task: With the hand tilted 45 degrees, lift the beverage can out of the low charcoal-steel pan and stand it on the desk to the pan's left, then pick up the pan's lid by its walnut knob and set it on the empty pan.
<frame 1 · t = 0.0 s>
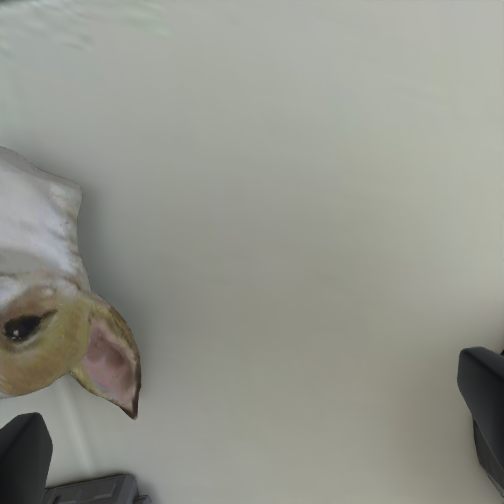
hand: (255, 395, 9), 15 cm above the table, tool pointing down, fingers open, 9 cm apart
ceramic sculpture: (46, 282, 24), on the table
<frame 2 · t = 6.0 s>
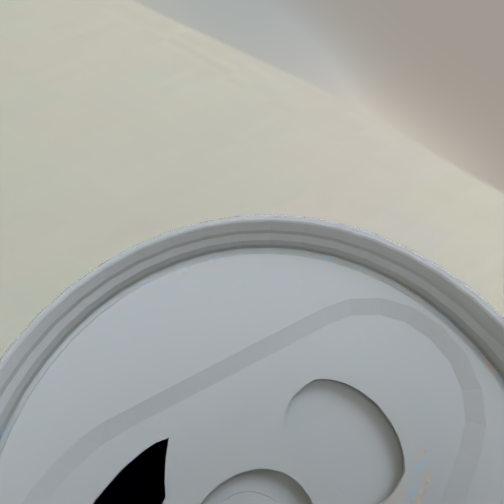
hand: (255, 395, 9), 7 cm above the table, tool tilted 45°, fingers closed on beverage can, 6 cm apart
beverage can: (263, 451, 15), resting on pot, touching gripper
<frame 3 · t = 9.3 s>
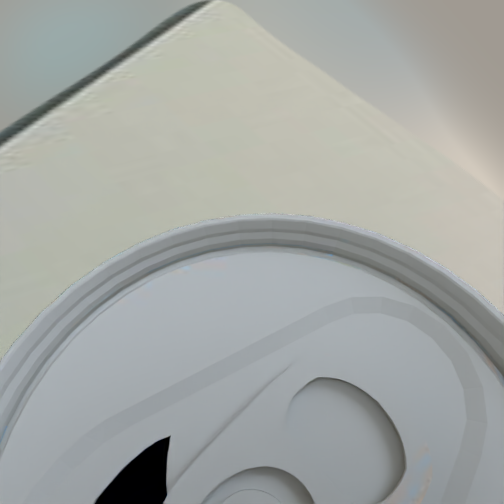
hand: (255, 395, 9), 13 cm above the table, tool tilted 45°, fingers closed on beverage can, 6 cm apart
beverage can: (263, 451, 15), point 7 cm above the table, touching gripper
when the fingers open (6 cm above the table, at t = 12.9 s): beverage can stays where it is, on the table.
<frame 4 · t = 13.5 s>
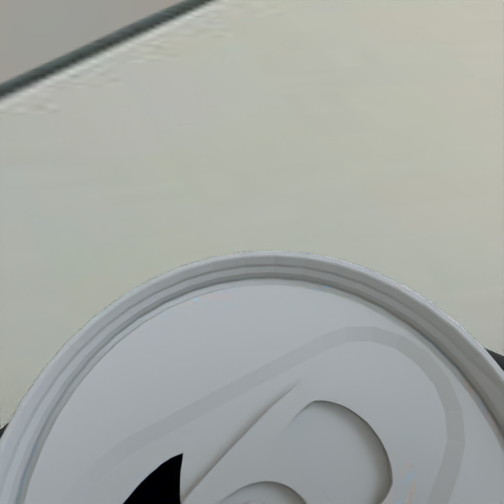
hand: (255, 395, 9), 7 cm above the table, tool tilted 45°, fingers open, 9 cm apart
beverage can: (264, 455, 15), on the table
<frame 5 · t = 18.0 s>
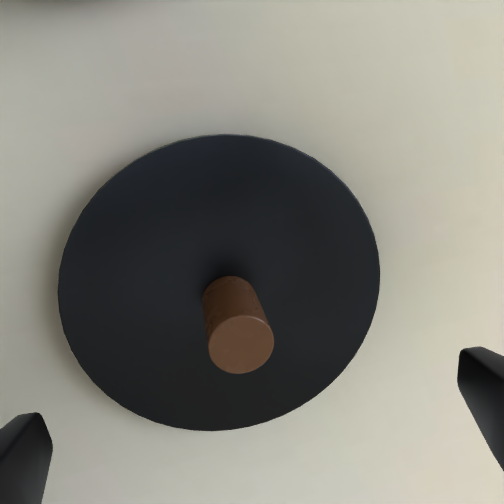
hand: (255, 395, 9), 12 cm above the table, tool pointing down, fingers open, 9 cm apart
lid: (227, 296, 21), point 1 cm above the table
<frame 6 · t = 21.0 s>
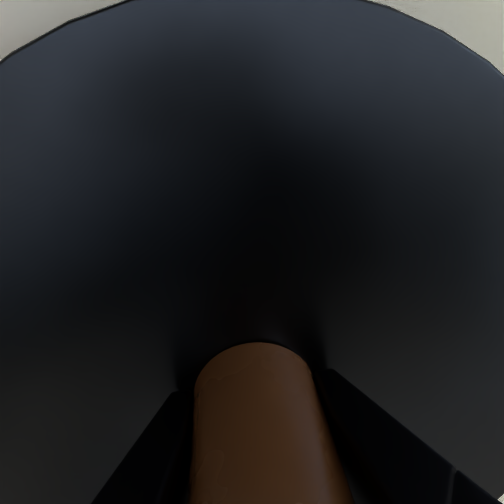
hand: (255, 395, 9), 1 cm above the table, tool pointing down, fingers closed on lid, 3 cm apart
lid: (252, 376, 10), point 1 cm above the table, touching gripper
when the fingers open (6 cm above the table, at t = 25.8 s): lid stays where it is, resting on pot.
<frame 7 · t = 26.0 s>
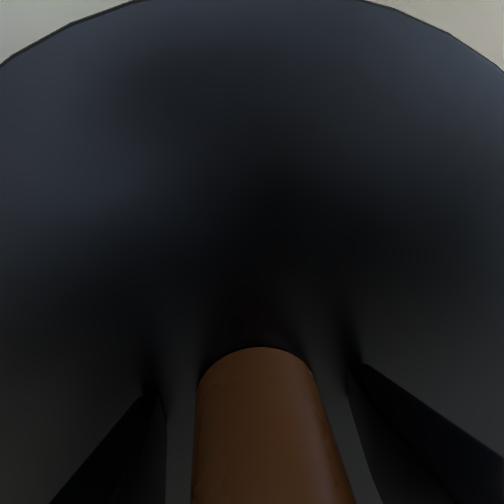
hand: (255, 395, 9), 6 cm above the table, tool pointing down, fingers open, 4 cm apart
lid: (254, 381, 10), point 5 cm above the table, touching gripper, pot
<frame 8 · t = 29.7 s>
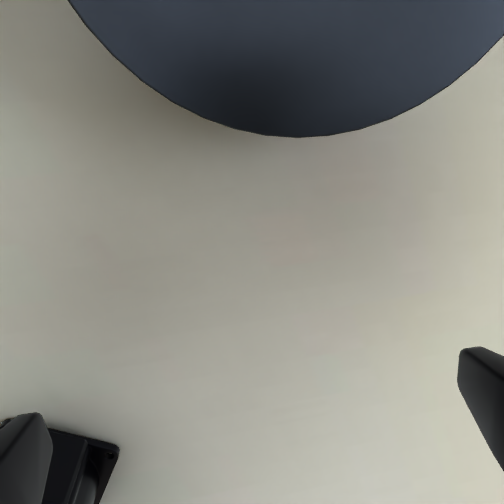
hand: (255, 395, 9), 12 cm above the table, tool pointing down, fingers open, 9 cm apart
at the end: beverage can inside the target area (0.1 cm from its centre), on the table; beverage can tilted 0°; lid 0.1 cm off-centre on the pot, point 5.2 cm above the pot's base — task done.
